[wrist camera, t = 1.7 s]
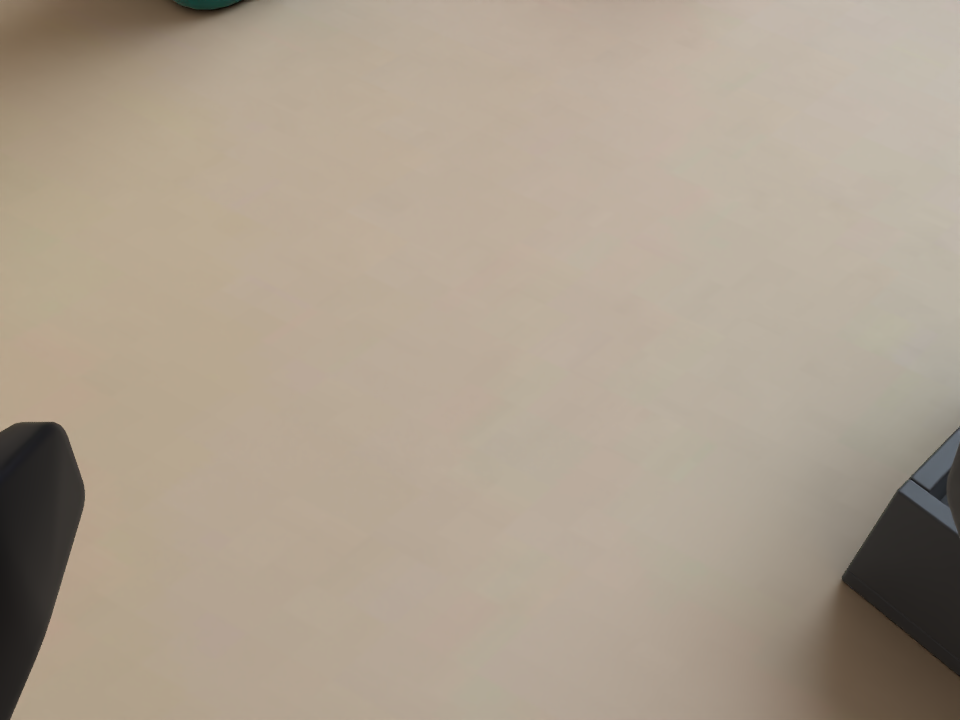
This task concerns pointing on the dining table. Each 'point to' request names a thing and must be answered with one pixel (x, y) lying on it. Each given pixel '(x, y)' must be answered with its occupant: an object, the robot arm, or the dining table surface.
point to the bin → (917, 560)
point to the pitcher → (205, 4)
